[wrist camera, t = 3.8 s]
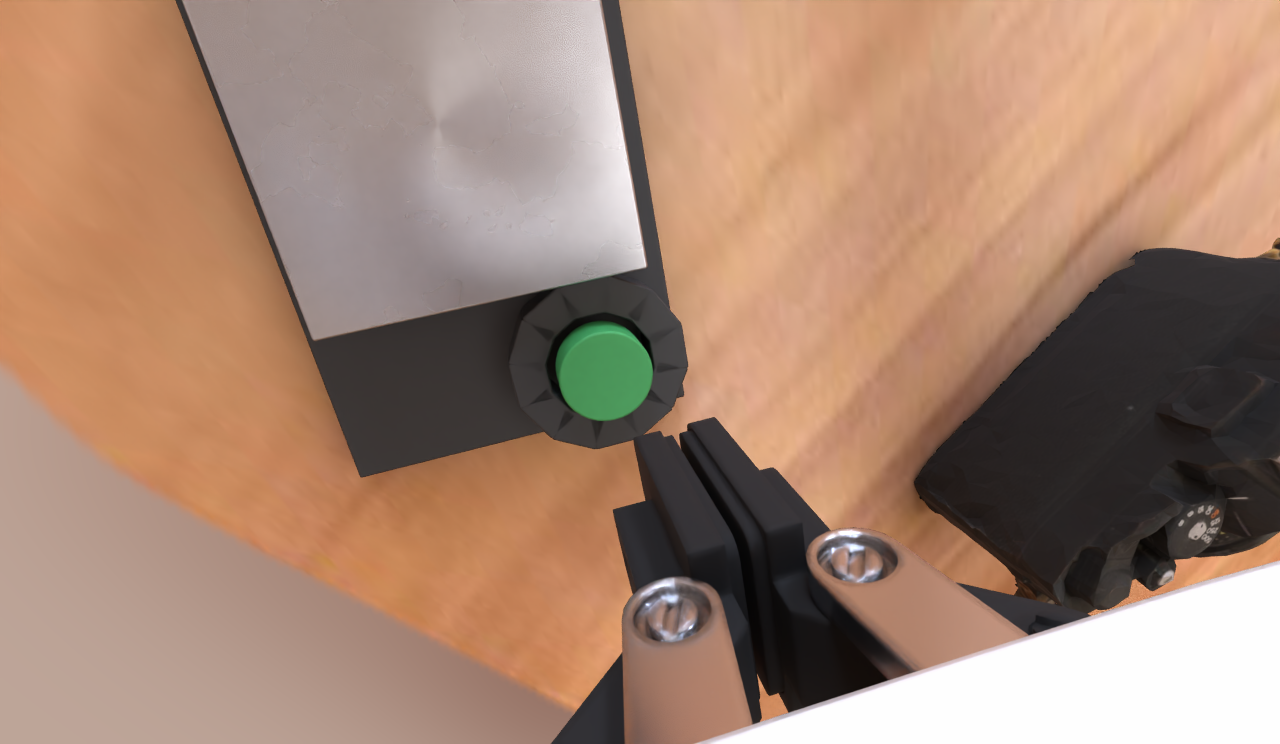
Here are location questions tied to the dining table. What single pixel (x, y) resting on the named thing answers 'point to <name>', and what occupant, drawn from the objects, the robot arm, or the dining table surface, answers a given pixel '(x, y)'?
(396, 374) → the scale
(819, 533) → the robot arm
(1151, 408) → the film camera
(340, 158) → the pan
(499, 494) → the dining table surface
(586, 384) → the tare button
